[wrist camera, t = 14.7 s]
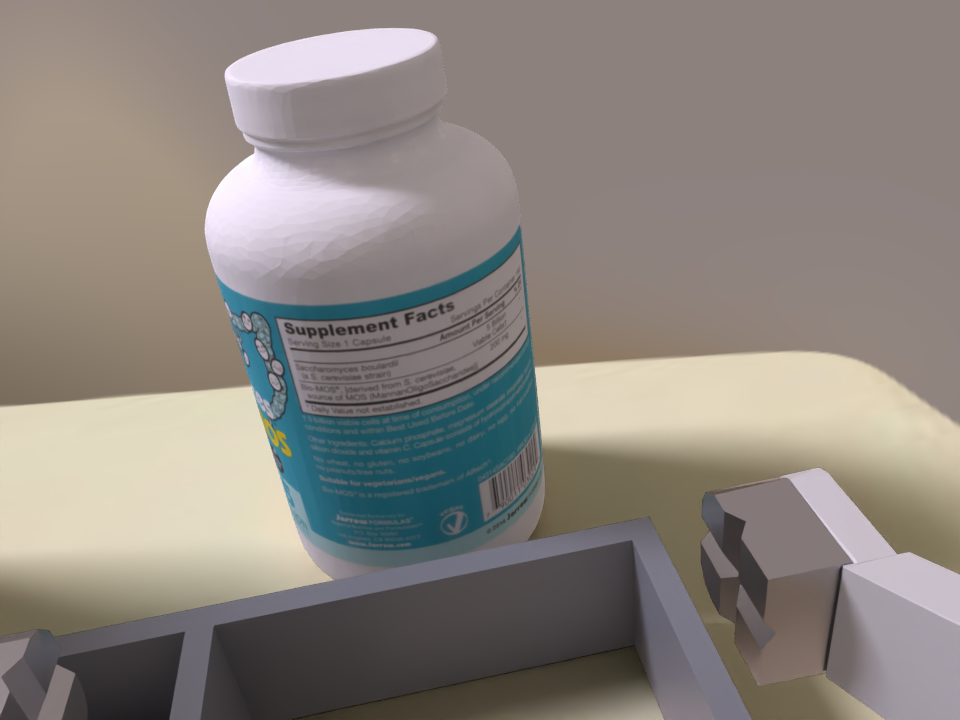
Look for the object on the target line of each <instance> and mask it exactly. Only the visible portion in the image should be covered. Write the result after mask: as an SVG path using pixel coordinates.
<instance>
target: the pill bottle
mask: <svg viewBox="0 0 960 720" xmlns="http://www.w3.org/2000/svg"><path fill="white" fill-rule="evenodd" d="M225 81H226V85H227V89H228V94H229V98H230V102H231V106H232V110H233V114H234V119H235V123H236V125H237V127H238V128H239V129H240V130H241V131H243V136H244V138H245V140H246V141H247V142H248V143H250V144H252V145H254V146H255V153H254V154H253V155H252V156H250V157H248V158H247V159H245V160H244V161H242V162H241V163H240V164H239V165H238V166H236V167H235V168H234V169H233V170H232V171H231V172H230V173H229V174H228V175H227V176H226V177H225V178H224V179H223V181H222V182H221V183H220V184H219V186H218V187H217V189H216V191H215V193H214V194H213V196H212V198H211V201H210V203H209V206H208V209H207V214H206V221H205V236H206V243H207V247H208V251H209V254H210V258H211V261H212V264H213V267H214V271H215V274H216V277H217V280H218V283H219V287H220V289H221V293H222V296H223V299H224V302H225V305H226V309H227V312H228V315H229V318H230V321H231V324H232V327H233V330H234V333H235V336H236V339H237V343H238V346H239V349H240V352H241V355H242V358H243V361H244V364H245V367H246V370H247V373H248V376H249V379H250V383H251V386H252V389H253V392H254V395H255V398H256V402H257V405H258V408H259V412H260V415H261V418H262V421H263V424H264V427H265V430H266V433H267V436H268V439H269V443H270V446H271V449H272V452H273V456H274V459H275V462H276V465H277V468H278V471H279V475H280V478H281V481H282V484H283V487H284V490H285V494H286V497H287V500H288V503H289V506H290V509H291V513H292V516H293V519H294V522H295V525H296V528H297V531H298V534H299V537H300V539H301V542H302V544H303V546H304V548H305V550H306V551H307V553H308V555H309V556H310V557H311V559H312V560H313V561H314V562H315V564H316V565H317V566H318V567H319V568H320V569H321V570H322V571H323V572H325V573H326V574H327V575H328V576H330V577H331V578H332V579H334V580H339V579H344V578H349V577H354V576H359V575H363V574H368V573H373V572H378V571H383V570H388V569H393V568H398V567H403V566H408V565H413V564H418V563H423V562H428V561H433V560H437V559H442V558H447V557H452V556H457V555H462V554H467V553H472V552H477V551H482V550H487V549H492V548H497V547H502V546H507V545H512V544H516V543H521V542H526V541H528V539H529V538H530V536H531V535H532V533H533V531H534V530H535V528H536V526H537V524H538V521H539V519H540V516H541V513H542V509H543V505H544V500H545V474H544V463H543V453H542V441H541V430H540V419H539V407H538V397H537V387H536V377H535V367H534V357H533V347H532V337H531V327H530V318H529V305H528V294H527V283H526V273H525V261H524V250H523V239H522V229H521V219H520V210H519V201H518V192H517V187H516V183H515V179H514V175H513V173H512V170H511V169H510V167H509V165H508V163H507V161H506V160H505V159H504V157H503V156H502V154H501V153H500V152H499V151H498V150H497V149H496V148H495V147H494V146H493V145H492V144H491V143H490V142H488V141H487V140H486V139H484V138H483V137H481V136H480V135H478V134H476V133H474V132H473V131H471V130H468V129H466V128H463V127H461V126H458V125H455V124H451V123H447V122H443V121H441V119H440V117H439V114H438V113H439V111H440V110H441V109H442V107H443V105H444V97H445V96H446V93H447V83H446V78H445V74H444V66H443V60H442V54H441V48H440V43H439V41H438V38H437V37H436V36H435V35H434V34H432V33H430V32H427V31H423V30H417V29H405V28H381V29H365V30H356V31H346V32H340V33H333V34H327V35H321V36H315V37H310V38H305V39H301V40H297V41H292V42H288V43H284V44H280V45H277V46H273V47H270V48H267V49H264V50H261V51H258V52H255V53H253V54H250V55H248V56H246V57H244V58H241V59H239V60H238V61H237V62H235V63H233V64H232V65H230V66H229V67H228V68H227V69H226V71H225Z"/></svg>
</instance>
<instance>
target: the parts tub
mask: <svg viewBox="0 0 960 720" xmlns="http://www.w3.org/2000/svg"><path fill="white" fill-rule="evenodd" d="M54 638H55V640H56V641H57V643H58V644H59V646H60V648H61V651H60V654H59V657H58V661H57V665H59V666H61V667H63V668H65V669H67V670H69V671H71V672H74V673H75V674H76V675H77V677H78V679H79V681H80V683H81V685H82V686H83V690H84V693H85V697H86V701H87V705H88V706H87V720H289V719H294V718H298V717H303V716H308V715H312V714H317V713H322V712H326V711H331V710H336V709H340V708H345V707H350V706H354V705H359V704H363V703H368V702H373V701H377V700H382V699H387V698H391V697H396V696H401V695H405V694H410V693H415V692H419V691H424V690H428V689H433V688H438V687H442V686H447V685H452V684H456V683H461V682H466V681H470V680H475V679H480V678H484V677H489V676H493V675H498V674H503V673H507V672H512V671H517V670H521V669H526V668H531V667H535V666H540V665H545V664H549V663H554V662H559V661H563V660H568V659H572V658H577V657H582V656H586V655H591V654H596V653H600V652H605V651H610V650H614V649H619V648H624V647H628V646H633V645H635V648H636V650H637V652H638V655H639V657H640V660H641V662H642V665H643V667H644V670H645V672H646V675H647V677H648V680H649V682H650V685H651V687H652V690H653V692H654V695H655V697H656V700H657V702H658V705H659V707H660V710H661V712H662V715H663V717H664V719H665V720H752V719H751V717H750V715H749V713H748V711H747V709H746V707H745V705H744V703H743V701H742V699H741V697H740V695H739V693H738V691H737V689H736V687H735V685H734V683H733V681H732V679H731V677H730V675H729V673H728V671H727V669H726V667H725V665H724V663H723V661H722V659H721V657H720V655H719V654H718V652H717V650H716V648H715V646H714V644H713V642H712V640H711V638H710V636H709V634H708V632H707V630H706V628H705V626H704V624H703V622H702V620H701V618H700V616H699V614H698V612H697V610H696V608H695V606H694V604H693V602H692V600H691V598H690V596H689V594H688V592H687V590H686V588H685V586H684V584H683V582H682V580H681V578H680V576H679V574H678V572H677V570H676V568H675V566H674V564H673V563H672V561H671V559H670V557H669V555H668V553H667V551H666V549H665V547H664V545H663V543H662V541H661V539H660V537H659V535H658V533H657V531H656V529H655V527H654V525H653V523H652V521H651V519H650V517H645V518H640V519H635V520H630V521H625V522H620V523H615V524H610V525H605V526H600V527H595V528H590V529H586V530H581V531H576V532H571V533H566V534H561V535H556V536H551V537H546V538H541V539H536V540H531V541H526V542H521V543H516V544H512V545H507V546H502V547H497V548H492V549H487V550H482V551H477V552H472V553H467V554H462V555H457V556H452V557H447V558H442V559H437V560H433V561H428V562H423V563H418V564H413V565H408V566H403V567H398V568H393V569H388V570H383V571H378V572H373V573H368V574H363V575H359V576H354V577H349V578H344V579H339V580H334V581H329V582H324V583H319V584H314V585H309V586H304V587H299V588H294V589H289V590H284V591H280V592H275V593H270V594H265V595H260V596H255V597H250V598H245V599H240V600H235V601H230V602H225V603H220V604H215V605H210V606H206V607H201V608H196V609H191V610H186V611H181V612H176V613H171V614H166V615H161V616H156V617H151V618H146V619H141V620H136V621H131V622H127V623H122V624H117V625H112V626H107V627H102V628H97V629H92V630H87V631H82V632H77V633H72V634H67V635H62V636H57V637H54Z"/></svg>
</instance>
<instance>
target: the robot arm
mask: <svg viewBox="0 0 960 720" xmlns="http://www.w3.org/2000/svg"><path fill="white" fill-rule="evenodd" d="M702 518H703V520H704V521H705V523H706V525H707V527H708V528H709V530H710V531H709V532H708V533H707V535H706V536H705V537H704V539H703V540H702V541H701V565H702V570H703V575H704V580H705V584H706V586H707V589H708V592H709V594H710V597H711V599H712V601H713V603H714V605H715V607H716V609H717V611H718V613H719V614H720V615H721V616H723V617H725V618H727V619H728V620H730V621H732V622H733V623H735V640H734V643H735V645H736V646H737V648H738V650H739V652H740V654H741V656H742V657H743V659H744V661H745V663H746V665H747V666H748V668H749V670H750V672H751V674H752V676H753V677H754V679H755V681H756V683H757V685H758V686H763V685H768V684H773V683H778V682H783V681H788V680H793V679H798V678H803V677H808V676H814V675H819V674H824V673H826V677H827V678H828V679H830V680H831V681H832V682H834V683H835V684H837V685H838V686H839V687H841V688H842V689H844V690H845V691H846V692H848V693H849V694H850V695H852V696H853V697H855V698H856V699H857V700H859V701H860V702H862V703H863V704H864V705H866V706H867V707H869V708H870V709H871V710H873V711H874V712H876V713H877V714H878V715H880V716H881V717H883V718H884V719H885V720H960V574H958V573H955V572H953V571H951V570H949V569H946V568H944V567H942V566H940V565H938V564H935V563H933V562H931V561H929V560H926V559H924V558H922V557H920V556H917V555H915V554H913V553H911V552H907V553H901V554H897V553H896V551H895V550H894V549H893V548H892V547H891V546H890V544H889V543H888V542H887V541H886V540H885V539H884V537H883V536H882V535H881V534H880V533H879V532H878V530H877V529H876V528H875V527H874V526H873V525H872V523H871V522H870V521H869V520H868V519H867V518H866V516H865V515H864V514H863V513H862V512H861V511H860V509H859V508H858V507H857V506H856V505H855V504H854V502H853V501H852V500H851V499H850V498H849V497H848V495H847V494H846V493H845V492H844V491H843V490H842V488H841V487H840V486H839V485H838V484H837V483H836V481H835V480H834V479H833V478H832V477H831V476H830V475H829V473H828V472H827V471H825V470H823V469H821V468H815V469H810V470H806V471H801V472H796V473H792V474H787V475H783V476H781V477H775V478H770V479H766V480H761V481H756V482H752V483H747V484H742V485H738V486H733V487H728V488H724V489H719V490H714V491H709V492H706V493H705V495H704V498H703V500H702ZM60 651H61V648H60V646H59V644H58V643H57V641H56V640H55V638H54V637H53V635H52V634H51V632H50V630H40V629H38V630H32V631H27V632H21V633H16V634H10V635H4V636H0V720H87V706H88V705H87V701H86V697H85V693H84V690H83V686H82V685H81V683H80V681H79V679H78V677H77V675H76V674H75V673H74V672H71V671H69V670H67V669H65V668H63V667H61V666H59V665H57V661H58V657H59V654H60Z"/></svg>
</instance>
